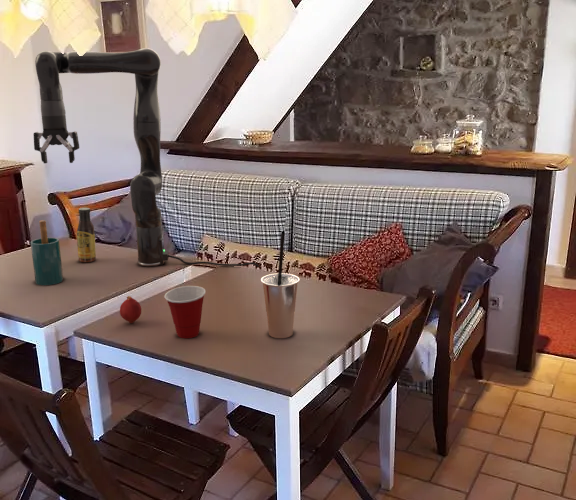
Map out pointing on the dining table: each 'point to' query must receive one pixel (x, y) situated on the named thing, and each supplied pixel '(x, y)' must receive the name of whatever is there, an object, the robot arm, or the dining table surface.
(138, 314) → the onion
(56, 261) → the teal cylindrical container
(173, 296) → the plastic cup
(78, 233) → the sauce bottle
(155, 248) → the robot arm
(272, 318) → the metal cup with straw
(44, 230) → the wooden peg with cap
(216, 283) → the dining table surface
